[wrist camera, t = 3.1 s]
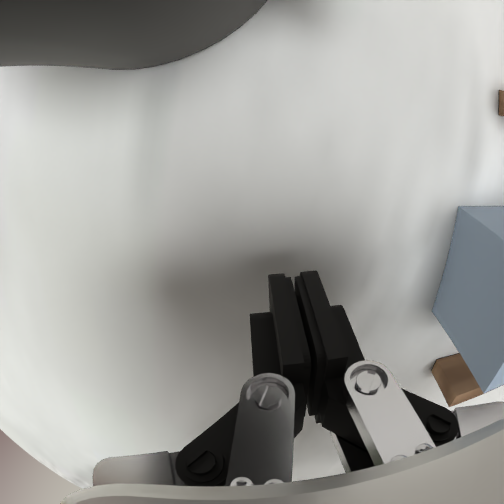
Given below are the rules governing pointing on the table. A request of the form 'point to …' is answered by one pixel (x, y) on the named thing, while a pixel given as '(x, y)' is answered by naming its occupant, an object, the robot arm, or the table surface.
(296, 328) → the robot arm
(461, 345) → the block
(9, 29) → the mug
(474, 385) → the trap box
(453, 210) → the table surface
